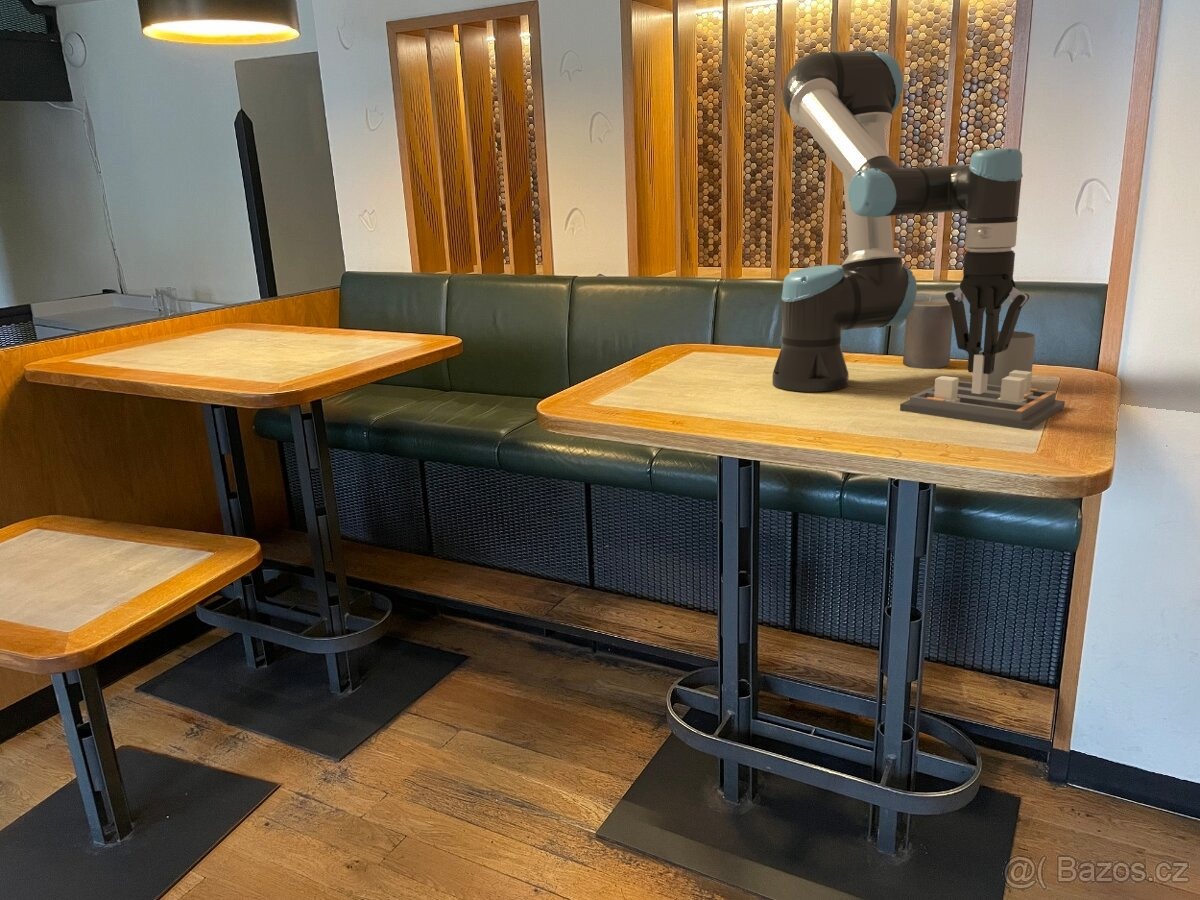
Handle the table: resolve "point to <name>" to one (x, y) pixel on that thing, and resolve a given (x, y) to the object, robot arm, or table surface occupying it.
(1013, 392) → the tab mid
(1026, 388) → the tab back
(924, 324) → the pillar candle
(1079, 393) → the table surface
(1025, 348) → the cup
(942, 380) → the tab front
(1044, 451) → the table surface
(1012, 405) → the slotted block puzzle
